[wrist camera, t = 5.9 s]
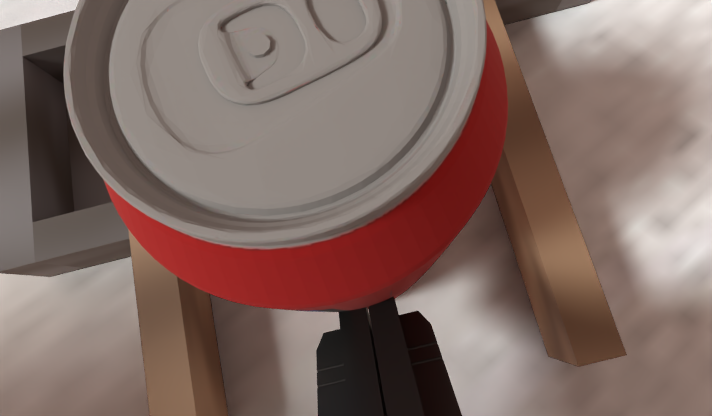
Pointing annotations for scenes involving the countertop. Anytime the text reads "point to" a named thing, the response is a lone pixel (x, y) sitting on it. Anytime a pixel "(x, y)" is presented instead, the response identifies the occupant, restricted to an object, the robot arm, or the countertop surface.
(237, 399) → the countertop surface
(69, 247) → the channel
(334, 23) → the beverage can
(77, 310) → the countertop surface
